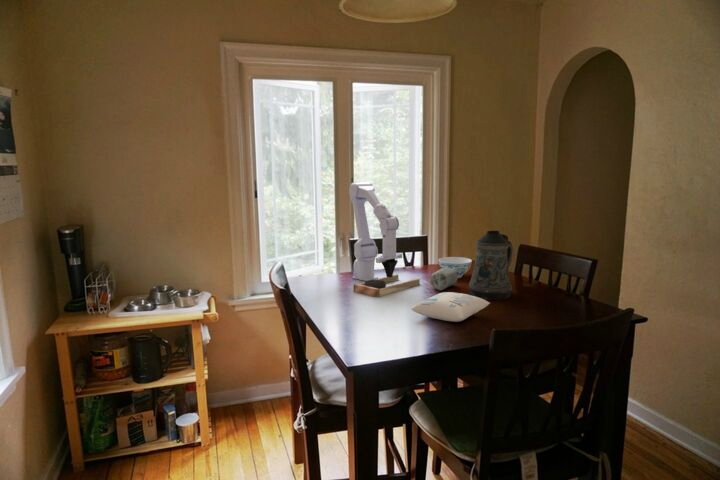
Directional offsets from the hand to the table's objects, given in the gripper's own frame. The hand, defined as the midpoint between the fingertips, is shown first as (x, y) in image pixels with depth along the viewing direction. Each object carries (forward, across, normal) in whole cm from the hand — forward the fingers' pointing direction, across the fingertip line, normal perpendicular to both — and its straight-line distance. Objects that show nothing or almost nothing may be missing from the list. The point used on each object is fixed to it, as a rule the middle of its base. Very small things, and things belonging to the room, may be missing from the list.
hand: (389, 276), depth 193 cm
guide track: (+4, -2, 0) cm, 5 cm away
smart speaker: (+5, -9, 0) cm, 10 cm away
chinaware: (+4, +34, -10) cm, 36 cm away
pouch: (+4, -16, -42) cm, 45 cm away
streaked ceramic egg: (+4, +14, -18) cm, 23 cm away
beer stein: (+4, +19, -37) cm, 42 cm away
